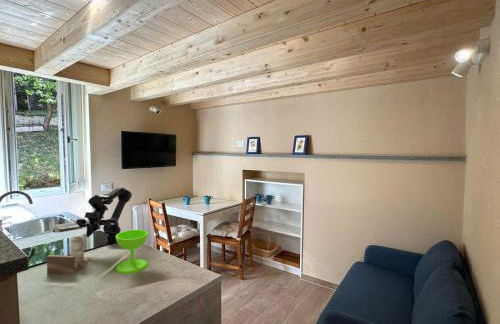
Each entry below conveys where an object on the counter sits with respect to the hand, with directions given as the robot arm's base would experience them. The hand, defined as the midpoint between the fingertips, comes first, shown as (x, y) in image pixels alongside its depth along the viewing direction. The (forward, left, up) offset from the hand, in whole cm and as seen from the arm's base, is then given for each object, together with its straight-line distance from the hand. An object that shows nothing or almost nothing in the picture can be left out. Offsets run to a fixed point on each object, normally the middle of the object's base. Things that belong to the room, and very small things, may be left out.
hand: (87, 236), depth 149 cm
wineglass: (-14, +28, -13) cm, 34 cm away
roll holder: (+9, +8, -13) cm, 17 cm away
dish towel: (-4, -72, -13) cm, 74 cm away
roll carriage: (+6, +6, -11) cm, 14 cm away
